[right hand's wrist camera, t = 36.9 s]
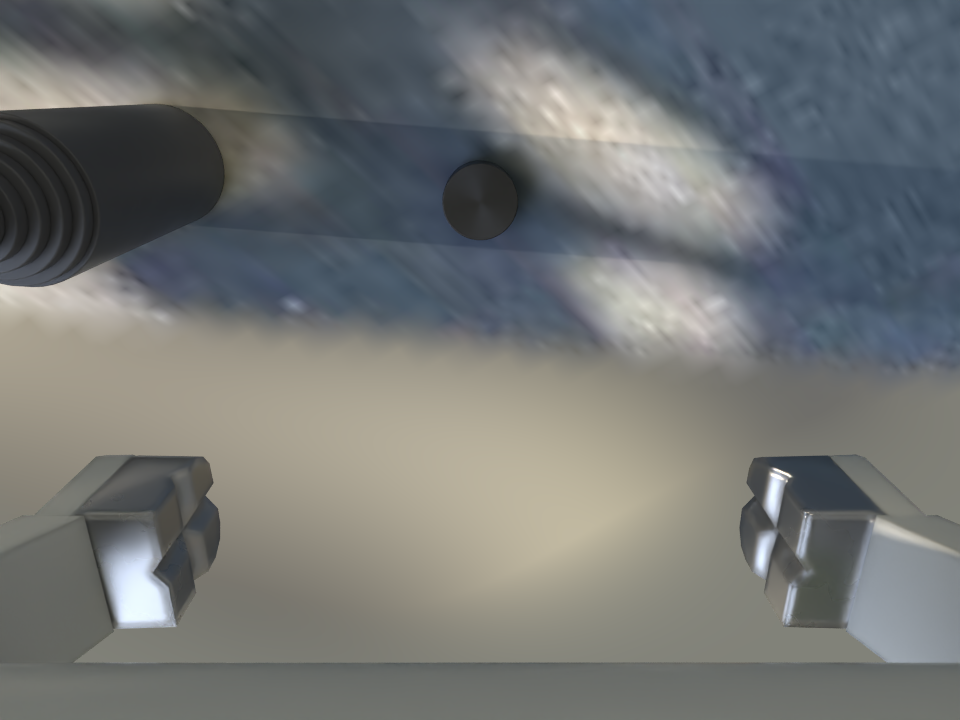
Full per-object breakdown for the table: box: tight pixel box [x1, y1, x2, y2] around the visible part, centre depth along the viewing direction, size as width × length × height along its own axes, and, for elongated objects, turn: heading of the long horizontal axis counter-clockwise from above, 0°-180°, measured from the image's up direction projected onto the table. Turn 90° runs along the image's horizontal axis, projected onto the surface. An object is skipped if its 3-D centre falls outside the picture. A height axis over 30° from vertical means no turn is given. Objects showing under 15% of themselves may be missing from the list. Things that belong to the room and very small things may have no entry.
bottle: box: [0, 104, 224, 287], centre depth 28 cm, size 6×6×18 cm
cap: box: [442, 161, 518, 240], centre depth 36 cm, size 4×4×2 cm
